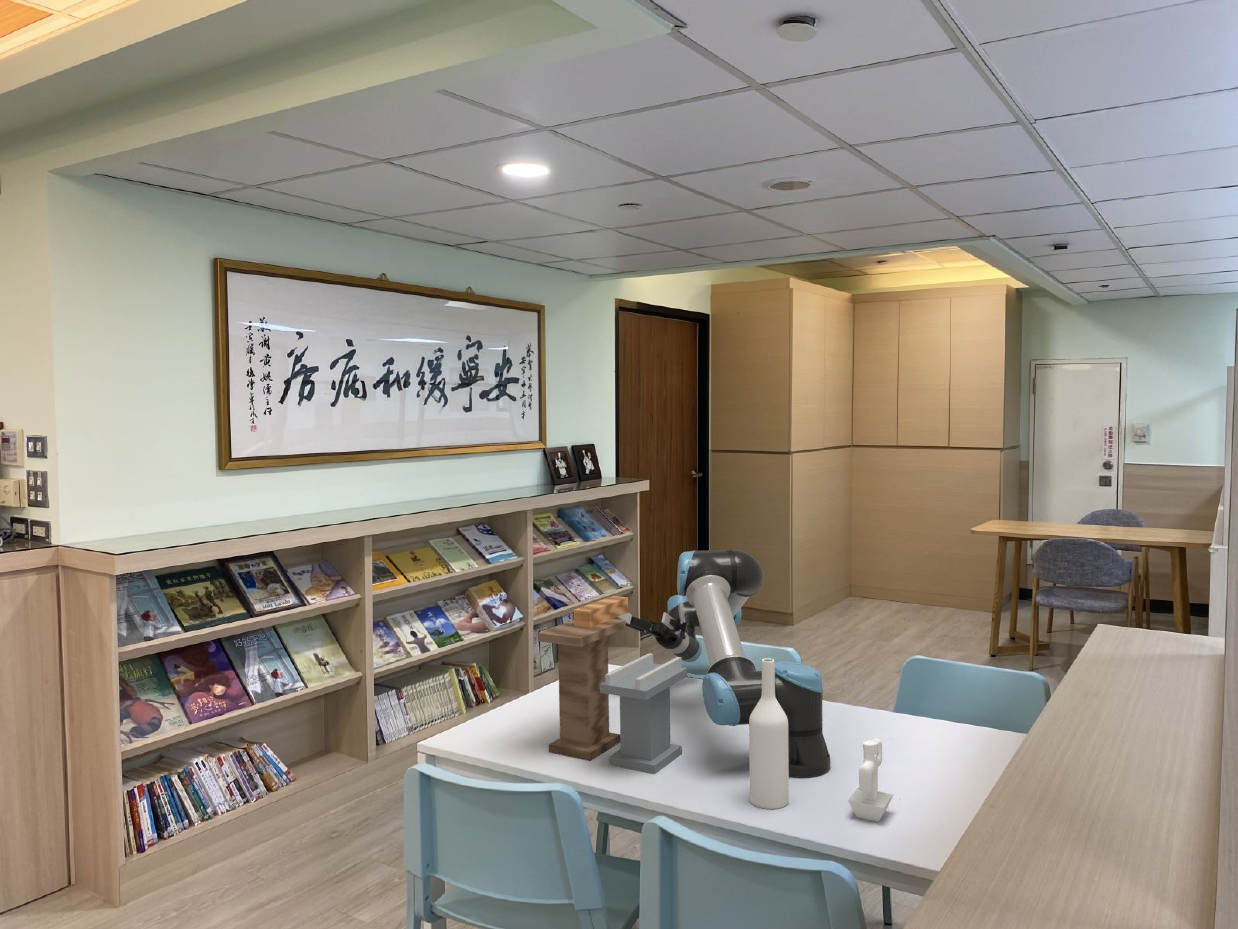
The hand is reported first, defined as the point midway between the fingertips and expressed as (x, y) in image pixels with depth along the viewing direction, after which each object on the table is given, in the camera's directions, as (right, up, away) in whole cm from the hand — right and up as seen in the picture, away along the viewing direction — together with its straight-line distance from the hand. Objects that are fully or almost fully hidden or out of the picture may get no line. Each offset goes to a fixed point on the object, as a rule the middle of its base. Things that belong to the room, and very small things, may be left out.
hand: (641, 614), depth 247 cm
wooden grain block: (-10, +2, -18) cm, 20 cm away
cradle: (0, -29, -32) cm, 43 cm away
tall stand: (-14, -29, -24) cm, 40 cm away
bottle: (+25, -30, -57) cm, 69 cm away
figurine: (+45, -30, -64) cm, 84 cm away
